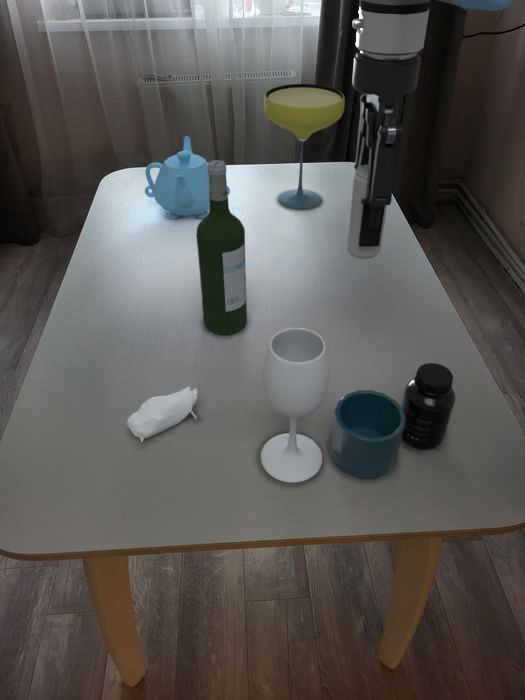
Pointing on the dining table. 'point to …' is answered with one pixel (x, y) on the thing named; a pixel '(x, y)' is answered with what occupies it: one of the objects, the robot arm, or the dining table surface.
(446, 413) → the supplement bottle
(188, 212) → the teapot
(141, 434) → the white oblong lump
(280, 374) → the wineglass
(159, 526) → the dining table surface
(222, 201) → the wine bottle
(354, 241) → the beverage can
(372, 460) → the cup
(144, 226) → the dining table surface
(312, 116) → the cocktail glass
